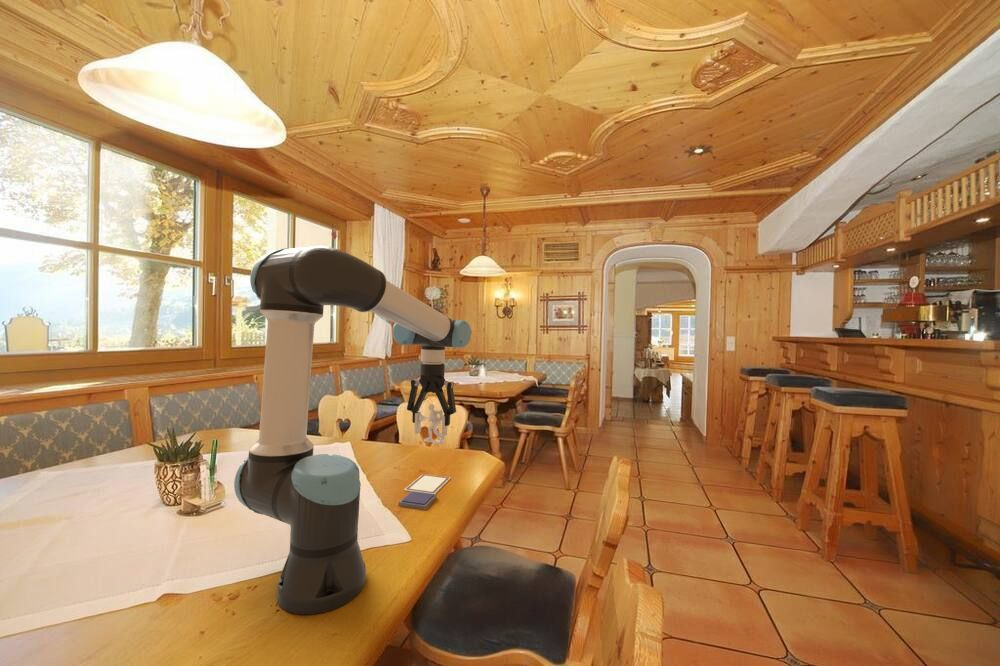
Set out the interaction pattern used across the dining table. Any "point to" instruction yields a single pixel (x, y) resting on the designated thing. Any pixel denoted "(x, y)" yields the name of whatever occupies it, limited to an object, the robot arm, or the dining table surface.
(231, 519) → the dining table surface
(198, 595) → the dining table surface
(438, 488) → the print sheet
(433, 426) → the figurine
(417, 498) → the ink pad
